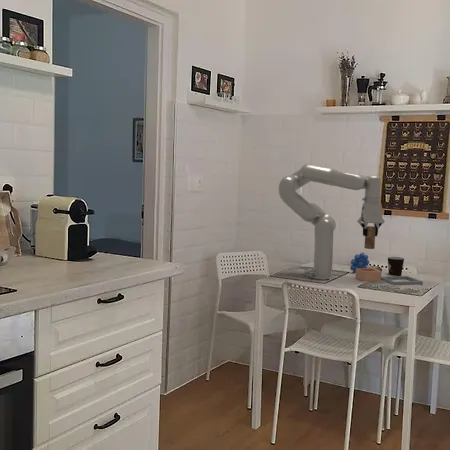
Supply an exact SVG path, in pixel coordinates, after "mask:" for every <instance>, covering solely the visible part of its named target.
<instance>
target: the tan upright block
mask: <svg viewBox="0 0 450 450" xmlns="http://www.w3.org/2000/svg"><path fill="white" fill-rule="evenodd" d="M367 229H368V231H367V236H364V249H367V250H375V244H376V243H375V242H376V236H375V231H376V227H374V226H373V225H372V226H371V225H370V226H369V225H367Z"/></svg>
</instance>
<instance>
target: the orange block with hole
mask: <svg viewBox="0 0 450 450" xmlns="http://www.w3.org/2000/svg"><path fill="white" fill-rule="evenodd" d="M381 277H382V270H379V269H376V268H373V267H367V268H356V273H355V279H356V280H360V281H362V282H365V283H367V282H368V283H369V282H382V280H381Z"/></svg>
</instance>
